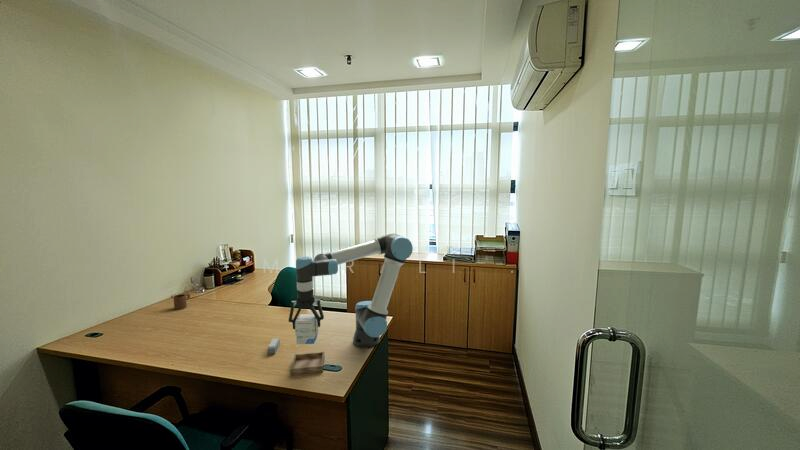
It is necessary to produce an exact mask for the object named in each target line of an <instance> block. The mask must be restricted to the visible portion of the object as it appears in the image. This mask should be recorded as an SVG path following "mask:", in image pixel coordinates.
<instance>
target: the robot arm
mask: <svg viewBox="0 0 800 450" xmlns="http://www.w3.org/2000/svg"><path fill="white" fill-rule="evenodd" d="M377 254H378V255H383V258H384V260H385V261H384V264H383V267H382V270H381V274H380V276H379V279H378V281H377V282H378V283H377V285H376V288H375V291H374V295H373V298H372V300H365V301H363V300H362V301H359V302H357V303H356V304H355V308H354V309H355V331H354V335H353V337H352V342H353V344H354V346H356V347H358V348H371V347H374V346H377V345H378V344H379V343H380V340H381V338H380V337H381V336H382V335H384V333H386V331H387V329H388V321H387V317H388V314H389V311H388V309H387V308H388V306H389V303H390V299H391V297H392V293H393V290H394V287H395V285H396V281H397V279H398V275H399V273H400V269H401V267H402V266H403V265H405V263H406V261H407V259H408V258H410V257H411V256H412V254H413V244H412V241H411V240H410V239H409V238H407V237H406V236H404V235H400V234H398V233H388V234H385V235H381V236H378V237H375V238H374V239H373V240H371V241H367V242H364V243H360V244H356V245H353V246H349V247H345V248H342V249H338V250H334V251H331V252H327V253H318V254H316V255H315V256H314V259H313V258H312V257H311V256H300V257H298V258H296V260H295V277H296V290H297V291H296V295H297V296H296V297H297V300H291V302H290V310H289V315H288V323H292V329H293V330H294V332H295V333H294V334H295V336H296V324H295V321H296V320H297V318H298V317H299V316H300V312H301V310H302V309H303V310H305V309H310V311H311V313H312V314H314V316H315V317H316V335H317V336H318V335H319V328H320V327H321V320H324V319H325V315H324V311H323V308H322V305H321V299H320V298H318V299H315V297H314V277H324V276H332V275H336V274H337V273H338V271H339V267H338V266H339V265H341V264H346V263H349V262H353V261H356V260H359V259H362V258H363V259H364V258H367V257H370V256H374V255H377ZM314 303H315V305H317V310H318V312H317V310H316V308H315V306H314ZM296 305H298V306H299V307H298V309H297V311H296V314H295V315H294V310H295V306H296ZM293 315H294V317H293Z"/></svg>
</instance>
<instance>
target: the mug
mask: <svg viewBox="0 0 800 450" xmlns="http://www.w3.org/2000/svg"><path fill="white" fill-rule="evenodd" d="M190 298H191V294H190V293H187V292H186V293H185V294H182V293H181V294H177V295H174V296H173V308H174V310H177V311H178V310H179V311H180V310H184V309H186V308H187V306H188V304H187V301H188V300H189V299H190Z"/></svg>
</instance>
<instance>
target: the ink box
mask: <svg viewBox="0 0 800 450" xmlns="http://www.w3.org/2000/svg"><path fill="white" fill-rule="evenodd" d="M295 324H296V335H295V338H296V339H295V343H296V345H314V344H315V342H316V341H317V339H318V334H317V335H316V317H315V316H314V314H313V313H312V314H306V313H304V314H299V315H298V317H297V319H296V321H295Z"/></svg>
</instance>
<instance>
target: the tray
mask: <svg viewBox="0 0 800 450" xmlns="http://www.w3.org/2000/svg"><path fill="white" fill-rule="evenodd" d="M324 364H325V351H319V352H318V351H316V352H307V353H305V352H303V353H296V354H295V353H294V357H293V360H292V364H291V366H290V376H296V375H307V374H316V373H323V372H324Z"/></svg>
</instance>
